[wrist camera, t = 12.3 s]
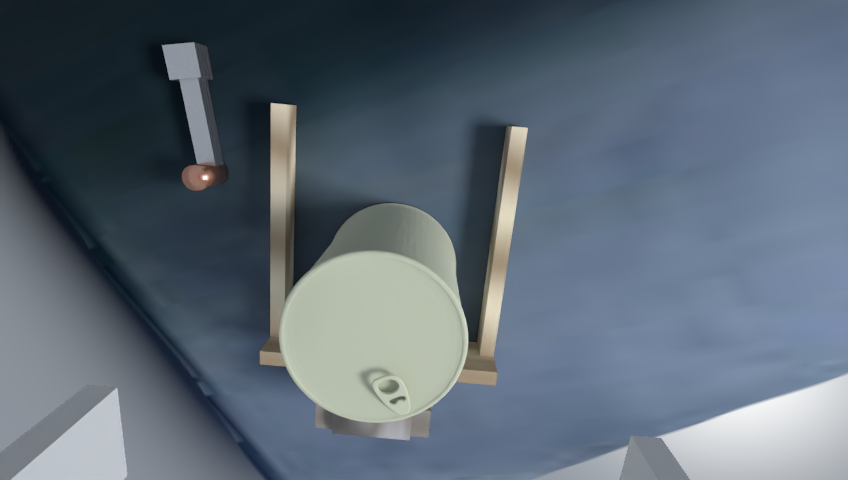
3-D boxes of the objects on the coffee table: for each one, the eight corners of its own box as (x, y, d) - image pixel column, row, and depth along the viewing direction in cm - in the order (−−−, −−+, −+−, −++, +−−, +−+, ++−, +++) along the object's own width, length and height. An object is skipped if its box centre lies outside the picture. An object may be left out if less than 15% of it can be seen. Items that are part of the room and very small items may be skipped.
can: (359, 339, 34) (322, 453, 22) (308, 229, 32) (238, 293, 20) (473, 299, 33) (497, 397, 21) (429, 183, 31) (428, 223, 19)
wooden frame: (281, 104, 29) (240, 100, 23) (521, 127, 30) (546, 129, 23) (278, 380, 35) (245, 438, 29) (481, 398, 35) (493, 460, 29)
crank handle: (176, 49, 29) (147, 41, 26) (206, 46, 29) (181, 38, 26) (205, 185, 31) (181, 192, 28) (233, 182, 31) (212, 189, 28)
